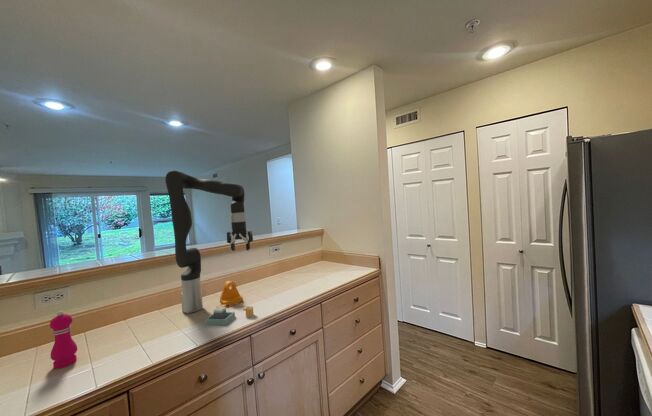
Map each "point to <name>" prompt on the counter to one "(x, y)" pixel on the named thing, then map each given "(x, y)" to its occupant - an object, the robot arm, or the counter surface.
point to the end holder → (213, 321)
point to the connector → (220, 313)
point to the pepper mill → (62, 341)
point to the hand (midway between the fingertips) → (240, 250)
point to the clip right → (248, 311)
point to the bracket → (230, 294)
